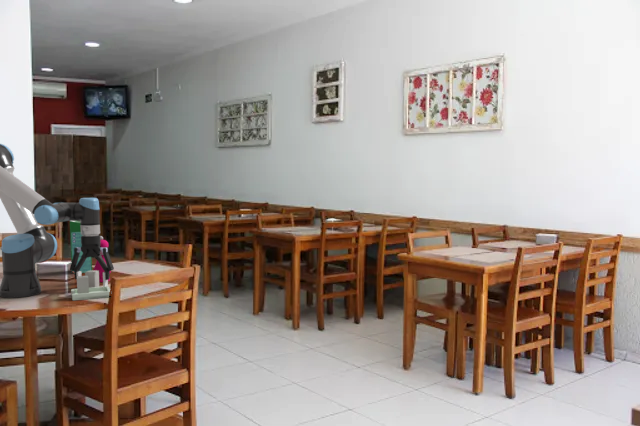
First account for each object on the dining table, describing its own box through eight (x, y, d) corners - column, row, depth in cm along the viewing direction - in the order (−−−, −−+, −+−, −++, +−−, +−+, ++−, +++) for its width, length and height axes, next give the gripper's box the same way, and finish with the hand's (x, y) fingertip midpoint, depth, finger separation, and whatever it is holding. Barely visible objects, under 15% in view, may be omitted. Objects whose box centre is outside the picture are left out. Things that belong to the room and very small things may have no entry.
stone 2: (85, 288, 247) (85, 272, 247) (90, 286, 251) (89, 270, 251) (94, 288, 247) (94, 272, 246) (99, 286, 251) (98, 270, 250)
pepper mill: (105, 283, 259) (103, 237, 257) (90, 282, 260) (88, 237, 258) (114, 279, 266) (112, 235, 264) (99, 279, 267) (98, 234, 265)
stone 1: (89, 295, 232) (88, 277, 231) (77, 296, 230) (77, 278, 229) (88, 293, 235) (87, 275, 235) (77, 294, 234) (76, 276, 233)
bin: (72, 300, 226) (72, 294, 226) (71, 294, 236) (71, 289, 236) (111, 296, 232) (111, 291, 232) (108, 291, 242) (108, 286, 242)
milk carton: (92, 272, 284) (90, 220, 282) (71, 273, 280) (69, 220, 278) (92, 269, 292) (90, 218, 290) (72, 270, 289) (70, 219, 287)
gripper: (59, 235, 244) (61, 288, 246) (113, 236, 242) (115, 289, 244) (68, 233, 252) (70, 284, 254) (121, 234, 250) (123, 285, 252)
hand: (92, 287), depth 249 cm, fingers open, 11 cm apart
